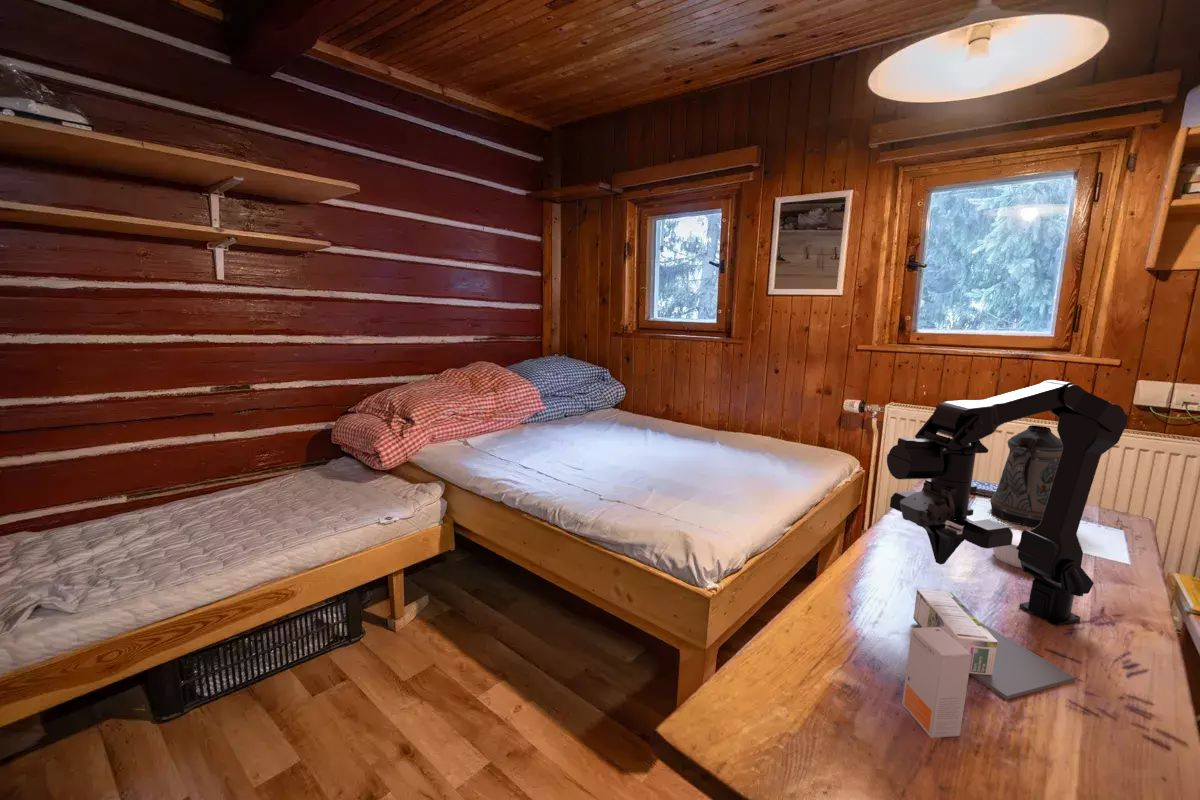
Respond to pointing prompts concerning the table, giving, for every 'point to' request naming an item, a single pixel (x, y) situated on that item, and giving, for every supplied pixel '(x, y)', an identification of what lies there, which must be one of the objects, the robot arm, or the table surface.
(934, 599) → the syrup box
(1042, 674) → the mat
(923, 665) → the skincare box
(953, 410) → the robot arm
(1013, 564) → the ramekin
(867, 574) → the table surface
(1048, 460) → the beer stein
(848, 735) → the table surface
